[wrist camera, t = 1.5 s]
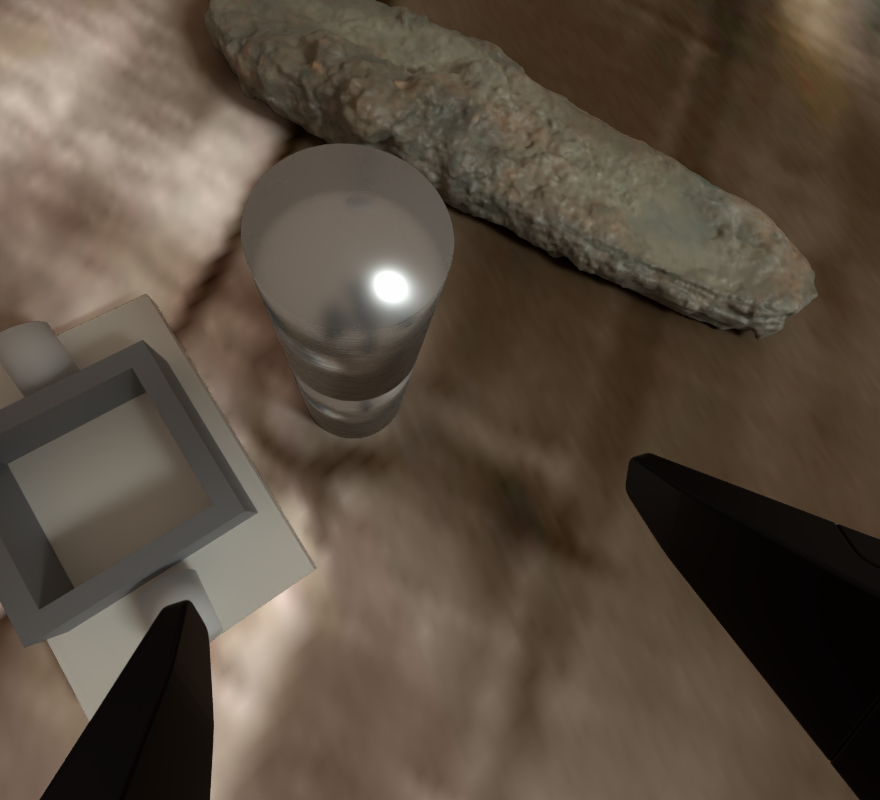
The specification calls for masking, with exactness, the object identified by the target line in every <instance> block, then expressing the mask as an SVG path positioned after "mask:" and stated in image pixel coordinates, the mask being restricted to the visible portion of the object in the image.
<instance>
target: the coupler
mask: <svg viewBox="0 0 880 800" xmlns="http://www.w3.org/2000/svg"><path fill="white" fill-rule="evenodd" d="M241 240H242V246H243V251H244V255H245V258H246V261H247V264H248V266H249V269H250V271H251V273H252V276H253V278H254V281H255V283H256V285H257V288H258V290H259V293H260V295H261V298H262V300H263V302H264V305H265V307H266V310H267V312H268V314H269V317H270V319H271V322H272V324H273V327H274V329H275V331H276V334H277V336H278V339H279V341H280V343H281V346H282V348H283V351H284V353H285V355H286V358H287V360H288V362H289V364H290V367H291V370H292V372H293V375H294V377H295V380H296V382H297V384H298V387H299V389H300V392H301V394H302V397H303V399H304V401H305V404H306V406H307V409H308V411H309V413H310V415H311V416H312V418H313V419H314V420H315V421H316V423H317V424H318V425H319V426H321V427H322V428H323V429H324V430H326V431H328V432H329V433H331V434H334V435H336V436H339V437H344V438H363V437H367V436H370V435H373V434H375V433H377V432H379V431H380V430H382V429H383V428H385V427H386V426H387V425H388V424H389V423H390V422H391V421H392V420H393V418H394V417H395V415H396V413H397V411H398V409H399V407H400V404H401V401H402V398H403V396H404V393H405V390H406V387H407V385H408V382H409V379H410V376H411V374H412V371H413V368H414V365H415V362H416V360H417V357H418V354H419V352H420V349H421V346H422V343H423V341H424V338H425V335H426V332H427V330H428V327H429V324H430V321H431V319H432V316H433V313H434V310H435V308H436V305H437V302H438V299H439V297H440V294H441V291H442V288H443V286H444V283H445V280H446V277H447V275H448V272H449V269H450V266H451V263H452V258H453V252H454V234H453V226H452V222H451V219H450V215H449V213H448V210H447V208H446V205H445V203H444V202H443V200H442V198H441V196H440V195H439V193H438V192H437V190H436V189H435V188H434V186H433V185H432V184H431V183H430V182H429V181H428V180H427V179H426V178H425V177H424V175H422V174H421V173H420V172H419V171H418V170H416V169H415V168H414V167H413V166H411V165H410V164H408V163H407V162H405V161H403V160H402V159H400V158H398V157H396V156H394V155H392V154H390V153H387V152H384V151H382V150H379V149H376V148H372V147H368V146H363V145H356V144H341V143H338V144H325V145H320V146H315V147H311V148H307V149H304V150H301V151H299V152H296V153H294V154H292V155H290V156H288V157H286V158H284V159H283V160H281V161H280V162H278V163H277V164H275V165H274V166H273V167H272V168H270V169H269V170H268V171H267V172H266V173H265V174H264V175H263V176H262V177H261V178H260V180H259V181H258V182H257V184H256V185H255V187H254V188H253V190H252V191H251V193H250V195H249V197H248V200H247V202H246V205H245V208H244V211H243V216H242V223H241Z"/></svg>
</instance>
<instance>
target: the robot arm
mask: <svg viewBox="0 0 880 800" xmlns="http://www.w3.org/2000/svg"><path fill="white" fill-rule="evenodd" d="M626 491H627V494H628V496H629V498H630V500H631V501H632V503H633V504H634V506H635V507H636V509H637V510H638V512H639V514H640V515H641V517H642V518H643V520H644V521H645V523H646V525H647V526H648V528H649V529H650V531H651V532H652V534H653V535H654V537H655V539H656V540H657V542H658V543H659V545H660V546H661V548H662V549H663V551H664V552H665V554H666V555H667V556H668V558H669V559H670V560H671V562H672V563H673V564H674V566H675V567H676V568H677V569H678V571H679V572H680V573H681V574H682V576H683V577H684V578H685V579H686V581H687V582H688V583H689V585H690V586H691V587H692V588H693V590H694V591H695V592H696V593H697V595H698V596H699V597H700V598H701V600H702V601H703V602H704V603H705V605H706V606H707V607H708V609H709V610H710V611H711V612H712V614H713V615H714V616H715V617H716V619H717V620H718V621H719V622H720V624H721V625H722V626H723V627H724V629H725V630H726V631H727V633H728V634H729V635H730V636H731V638H732V639H733V640H734V641H735V643H736V644H737V645H738V646H739V648H740V649H741V650H742V651H743V653H744V654H745V655H746V657H747V658H748V659H749V660H750V662H751V663H752V664H753V665H754V667H755V668H756V669H757V670H758V672H759V673H760V674H761V676H762V677H763V678H764V679H765V681H766V682H767V683H768V684H769V686H770V687H771V688H772V689H773V691H774V692H775V693H776V694H777V696H778V697H779V698H780V700H781V701H782V702H783V703H784V705H785V706H786V707H787V708H788V710H789V711H790V712H791V713H792V715H793V716H794V717H795V718H796V720H797V721H798V722H799V724H800V725H801V726H802V727H803V729H804V730H805V731H806V732H807V734H808V735H809V736H810V737H811V739H812V740H813V741H814V742H815V744H816V745H817V746H818V748H819V749H820V750H821V751H822V753H823V754H824V755H825V756H826V758H827V759H828V760H830V761H831V764H832V766H833V767H834V768H835V769H836V771H837V772H838V773H839V775H840V776H841V777H842V778H843V780H844V781H845V782H846V783H847V785H848V786H849V787H850V788H851V790H852V791H853V792H854V793H855V795H856V796H857V797H858V799H859V800H880V539H877V538H874V537H872V536H869V535H866V534H863V533H861V532H858V531H855V530H853V529H850V528H847V527H845V526H842V525H836V524H835V523H834V522H831V521H829V520H826V519H823V518H821V517H818V516H815V515H813V514H810V513H807V512H805V511H802V510H800V509H797V508H794V507H792V506H789V505H786V504H784V503H781V502H778V501H776V500H773V499H770V498H768V497H765V496H762V495H760V494H757V493H755V492H752V491H749V490H747V489H744V488H741V487H739V486H736V485H733V484H731V483H728V482H725V481H723V480H720V479H717V478H715V477H712V476H710V475H707V474H704V473H702V472H699V471H696V470H694V469H691V468H688V467H686V466H683V465H680V464H678V463H675V462H673V461H670V460H667V459H665V458H662V457H659V456H657V455H654V454H651V453H645V454H642V455H639V456H636V457H633V458H631V460H630V461H629V466H628V473H627V479H626ZM213 733H214V719H213V698H212V681H211V663H210V646H209V635H208V630H207V627H206V625H205V623H204V621H203V620H202V618H201V616H200V615H199V613H198V611H197V610H196V608H195V606H194V605H193V603H192V602H191V601H190V600H182V601H179V602H176V603H173V604H170V605H167V606H165V607H164V608H163V609H162V610H161V611H160V612H159V614H158V616H157V617H156V619H155V620H154V622H153V623H152V625H151V626H150V628H149V630H148V631H147V633H146V634H145V636H144V637H143V639H142V641H141V642H140V644H139V645H138V647H137V648H136V650H135V651H134V653H133V655H132V656H131V658H130V659H129V661H128V662H127V664H126V666H125V667H124V669H123V670H122V672H121V673H120V675H119V676H118V678H117V680H116V681H115V683H114V684H113V686H112V687H111V689H110V691H109V692H108V694H107V695H106V697H105V698H104V700H103V702H102V703H101V705H100V706H99V708H98V709H97V711H96V712H95V714H94V716H93V717H92V719H91V720H90V722H89V723H88V725H87V727H86V728H85V730H84V731H83V733H82V734H81V736H80V737H79V739H78V741H77V742H76V744H75V745H74V747H73V748H72V750H71V752H70V753H69V755H68V756H67V758H66V759H65V761H64V762H63V764H62V766H61V767H60V769H59V770H58V772H57V773H56V775H55V777H54V778H53V780H52V781H51V783H50V784H49V786H48V787H47V789H46V791H45V792H44V794H43V795H42V797H41V798H40V800H210V789H211V771H212V754H213Z"/></svg>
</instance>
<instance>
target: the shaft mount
mask: <svg viewBox="0 0 880 800" xmlns="http://www.w3.org/2000/svg"><path fill="white" fill-rule="evenodd" d="M315 569H316V566H315V564H314V563H313V561H312V560H311V558H310V556H309V555H308V553H307V551H306V550H305V548H304V546H303V545H302V543H301V542H300V540H299V538H298V537H297V535H296V533H295V532H294V530H293V528H292V527H291V525H290V523H289V522H288V520H287V519H286V517H285V515H284V514H283V512H282V510H281V509H280V507H279V505H278V504H277V502H276V501H275V499H274V497H273V496H272V494H271V492H270V491H269V489H268V487H267V486H266V484H265V482H264V481H263V479H262V478H261V476H260V474H259V473H258V471H257V469H256V468H255V466H254V464H253V463H252V461H251V460H250V458H249V456H248V455H247V453H246V451H245V450H244V448H243V446H242V445H241V443H240V441H239V440H238V438H237V437H236V435H235V433H234V432H233V430H232V428H231V427H230V425H229V423H228V422H227V420H226V419H225V417H224V415H223V414H222V412H221V410H220V409H219V407H218V405H217V404H216V402H215V400H214V399H213V397H212V396H211V394H210V392H209V391H208V389H207V387H206V386H205V384H204V382H203V381H202V379H201V378H200V376H199V374H198V373H197V371H196V369H195V368H194V366H193V364H192V363H191V361H190V359H189V358H188V356H187V355H186V353H185V351H184V350H183V348H182V346H181V345H180V343H179V341H178V340H177V338H176V337H175V335H174V333H173V332H172V330H171V328H170V327H169V325H168V323H167V322H166V320H165V318H164V317H163V315H162V314H161V312H160V310H159V309H158V307H157V305H156V304H155V303H154V301H153V300H152V299H151V298H150V297H149V296H148V295H147V294H145V295H143V296H141V297H138V298H136V299H134V300H132V301H130V302H128V303H125V304H123V305H121V306H119V307H117V308H115V309H113V310H110V311H108V312H106V313H104V314H102V315H100V316H97V317H95V318H93V319H91V320H89V321H87V322H85V323H82V324H80V325H78V326H76V327H74V328H72V329H69V330H67V331H65V332H63V333H61V334H59V335H57V336H56V335H55V333H54V332H53V330H52V329H51V327H50V326H49V325H48V323H47V322H44V321H34V322H28V323H24V324H20V325H16V326H14V327H11V328H8V329H6V330H4V331H1V332H0V602H1V604H2V606H3V607H4V609H5V611H6V613H7V615H8V617H9V619H10V621H11V623H12V625H13V627H14V629H15V631H16V633H17V634H18V636H19V638H20V640H21V642H22V644H23V646H24V648H25V647H28V646H31V645H34V644H36V643H39V642H42V641H44V640H47V642H48V643H49V645H50V647H51V649H52V651H53V653H54V655H55V657H56V659H57V661H58V663H59V664H60V666H61V668H62V670H63V672H64V674H65V676H66V678H67V680H68V682H69V683H70V685H71V687H72V689H73V691H74V693H75V695H76V697H77V699H78V701H79V703H80V704H81V706H82V708H83V710H84V712H85V714H86V716H87V718H88V720H89V722H90V720H91V719H92V717H93V716H94V714H95V712H96V711H97V709H98V708H99V706H100V705H101V703H102V702H103V700H104V698H105V697H106V695H107V694H108V692H109V691H110V689H111V687H112V686H113V684H114V683H115V681H116V680H117V678H118V676H119V675H120V673H121V672H122V670H123V669H124V667H125V666H126V664H127V662H128V661H129V659H130V658H131V656H132V655H133V653H134V651H135V650H136V648H137V647H138V645H139V644H140V642H141V641H142V639H143V637H144V636H145V634H146V633H147V631H148V630H149V628H150V626H151V625H152V623H153V622H154V620H155V619H156V617H157V616H158V614H159V612H160V611H161V610H162V609H163V608H164V607H165V606H167V605H170V604H173V603H176V602H179V601H182V600H190V601H191V602H192V603H193V605H194V606H195V608H196V610H197V611H198V613H199V615H200V616H201V618H202V620H203V621H204V623H205V625H206V627H207V630H208V635H209V643H210V642H211V641H213V640H214V639H215V638H216V637H218V636H219V635H220V634H222V633H223V632H225V631H226V630H228V629H229V628H231V627H232V626H234V625H235V624H237V623H238V622H239V621H241V620H242V619H244V618H245V617H247V616H248V615H250V614H251V613H253V612H254V611H256V610H257V609H258V608H260V607H261V606H263V605H264V604H266V603H267V602H269V601H270V600H272V599H273V598H274V597H276V596H277V595H279V594H280V593H282V592H283V591H285V590H286V589H288V588H289V587H291V586H292V585H293V584H295V583H296V582H298V581H299V580H301V579H302V578H304V577H305V576H307V575H308V574H310V573H311V572H312V571H314V570H315Z"/></svg>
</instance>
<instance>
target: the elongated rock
mask: <svg viewBox="0 0 880 800" xmlns="http://www.w3.org/2000/svg"><path fill="white" fill-rule="evenodd" d="M204 23H205V29H206V31H207V32H208V34H209V36H210V40H211V43H212V45H213V46H214V47H215V48H216V49H217V50H218V51H219V52H220V53H222V54H223V55H224V56H225V58H226V60H227V61H228V63H229V66H230V68H231V70H232V72H233V73H234V74H237V76H238V77H239V84H240V88H241V90H242V91H243V93H244V94H245V95H246V96H248V97H250V98H251V99H261V100H263V101H264V102H266V103H268V105H269V106H270V107H271V109H272V110H273V111H274V112H276V113H277V114H278V115H280V116H282V117H283V118H285V119H288V120H291V121H293V122H294V123H296V124H298V125H300V126H302V127H303V128H304V129H305V130H306V131H307V132H309V133H311V134H312V135H315V136H317V137H319V138H321V139H324V140H325V141H327V142H328V143H331V144H338V143H341V144H356V145H363V146H368V147H372V148H376V149H379V150H382V151H384V152H387V153H390V154H392V155H394V156H396V157H398V158H400V159H402V160H403V161H405V162H407V163H408V164H410V165H411V166H413V167H414V168H415V169H416V170H418V171H419V172H420V173H421V174H422V175H424V177H425V178H426V179H427V180H428V181H429V182H430V183H431V184H432V185H433V186H434V188H435V189H436V190H437V192H438V193H439V195H440V196H441V198H442V200H443V201H444V202H446V203H447V204H449V205H451V206H452V207H454V208H457V209H458V210H460V211H462V212H463V213H470V214H471V215H472V216H473V217H480V218H483V219H486V220H488V221H489V222H493V223H495V224H498V225H502V226H504V227H507V228H508V229H509V230H512V231H514V232H515V234H516V235H518V236H519V237H520V238H523V239H525V240H527V241H528V242H530V243H531V244H532V245H534V246H537V247H539V248H541V249H543V250H546V251H547V253H548V254H549V255H550V256H552V257H554V258H559V257H561V256H564V257H567V258H568V259H569V260H570V261H572V262H573V264H574V265H575V266H576V267H577V269H578V270H580V271H585V272H588V273H590V274H596V275H598V276H600V277H602V278H603V279H606V280H609V281H611V282H614V283H615V284H618V285H620V286H622V287H623V288H628V289H631V290H633V291H635V292H638V293H640V294H641V295H643V296H646V297H648V298H651V299H652V300H654V301H657V302H659V303H660V304H662V305H664V306H666V307H668V308H670V309H672V310H675V311H676V312H678V313H681V314H682V315H686V316H688V317H691V318H693V319H696V320H698V321H700V322H702V321H704V322H707V323H710V324H712V325H714V326H716V327H717V329H718V330H725V329H732V328H735V329H737V330H745V331H749V330H752V331H753V332H754V333H755V337H756V338H757V339H761V338H764V337H768V336H770V335H773V334H775V333H777V332H778V331H779V330H781V329H783V324H784V323H785V321H784V320H785V319H786V318H789V317H791V316H794V315H796V314H797V313H798V312H799V311H800V310H801V309H802V308H803V307H805V306H806V305H808V304H809V303H810V301H811V300H812V299H815V298H816V297H817V296H818V293H817V291H816V288H815V286H814V277H815V273H814V271H813V270H812V269H811V267H810V264H809V262H808V260H807V259H806V258H805V256H804V255H802V254H801V253H800V252H799V250H798V249H797V248H796V247H795V246H794V245H793V244H792V243H791V242H790V240H789V239H788V238H787V237H786V236H785V235H784V233H783V232H782V230H780V229H779V228H778V227H777V226H776V224H775V223H774V221H773V220H772V219H770V218H769V217H768V216H767V215H766V214H765V213H764V212H763V211H761V210H760V209H759V208H757V207H755V206H753V205H751V204H750V203H749V202H747V201H746V200H743V199H742V198H739V197H737V196H736V195H733V194H730V193H727V192H725V191H724V190H721V189H720V188H718V187H717V186H714V185H712V184H710V183H709V182H708V181H707V180H705V179H704V178H702V177H701V176H699V175H698V174H695V173H694V172H691V171H690V170H688V169H687V168H686V167H685V166H683V165H681V164H680V163H679V162H678V161H677V160H675V159H674V158H672V157H669V156H667V155H665V154H663V153H662V152H660V151H657V150H655V149H652V148H651V147H650V146H648V145H647V144H646V143H645V142H643V141H639V140H636V139H633V138H631V137H629V136H626V135H624V134H622V133H621V132H619V131H617V130H615V129H614V128H613V127H611V126H609V125H608V124H607V123H604V122H603V121H602V120H600V119H598V118H596V117H594V116H591V115H590V114H588V113H587V112H586V111H583V110H581V109H579V108H578V107H576V106H575V105H574V104H573V103H571V102H569V101H568V99H567V98H566V97H564V96H562V95H560V94H556V93H554V92H552V91H550V90H547V89H545V88H543V87H542V86H541V85H539V84H538V83H536V82H534V81H533V80H531V79H530V78H529V77H528V76H527V75H526V74H525V72H524V69H523V67H521V66H519V65H518V64H517V63H516V62H515V61H512V60H511V59H510V58H509V57H507V56H506V55H505V54H504V53H503V51H502V50H501V48H499V47H498V46H497V45H496V44H493V43H491V42H488V41H486V40H479V39H477V38H474V37H471V36H469V37H466V36H463V35H462V34H461V33H460V32H458V31H455V30H448V29H446V28H443V27H442V26H439V25H436V24H434V23H430V22H429V21H428V18H427V16H426V15H423V16H421V15H416V14H415V13H413V12H411V11H409V10H408V9H407V7H403V6H394V7H388V6H387V5H386V4H383V3H380V2H377V1H375V0H209V8H208V10H207V11H206V13H205V17H204Z"/></svg>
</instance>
